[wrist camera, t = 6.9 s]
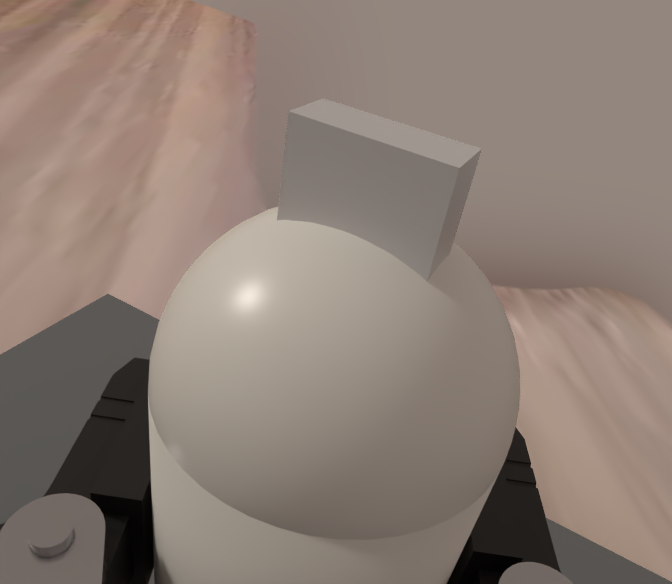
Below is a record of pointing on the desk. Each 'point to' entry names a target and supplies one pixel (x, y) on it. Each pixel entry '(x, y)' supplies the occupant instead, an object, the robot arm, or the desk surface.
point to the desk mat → (86, 389)
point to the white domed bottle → (333, 372)
